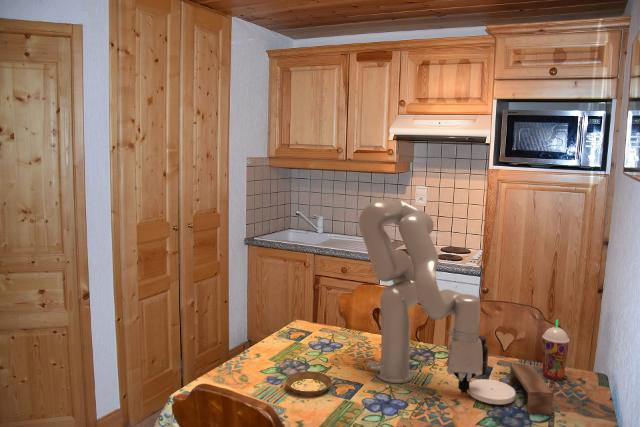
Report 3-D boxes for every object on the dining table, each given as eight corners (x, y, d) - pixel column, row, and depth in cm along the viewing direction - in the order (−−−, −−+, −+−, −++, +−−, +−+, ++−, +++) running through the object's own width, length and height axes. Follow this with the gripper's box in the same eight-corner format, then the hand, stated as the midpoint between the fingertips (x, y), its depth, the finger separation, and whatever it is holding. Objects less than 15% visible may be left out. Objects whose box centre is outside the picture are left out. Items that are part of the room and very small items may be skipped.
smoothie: (555, 383, 173) (559, 325, 171) (534, 374, 180) (538, 317, 178) (571, 379, 177) (576, 321, 174) (551, 369, 184) (554, 314, 182)
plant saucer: (309, 374, 178) (309, 367, 178) (341, 389, 168) (341, 381, 167) (276, 388, 168) (276, 380, 168) (307, 404, 157) (307, 396, 157)
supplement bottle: (488, 376, 178) (490, 342, 177) (467, 374, 180) (469, 340, 178) (486, 367, 185) (487, 335, 184) (466, 366, 186) (467, 333, 185)
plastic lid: (465, 385, 172) (465, 377, 171) (510, 388, 170) (510, 381, 169) (471, 405, 158) (471, 397, 158) (519, 409, 156) (520, 401, 155)
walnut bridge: (528, 413, 153) (530, 391, 152) (509, 383, 173) (510, 363, 172) (551, 414, 153) (553, 392, 152) (529, 384, 172) (530, 364, 172)
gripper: (443, 338, 159) (441, 396, 161) (493, 340, 158) (490, 398, 160) (439, 330, 166) (437, 385, 168) (487, 331, 165) (485, 387, 167)
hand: (463, 391), depth 164 cm, fingers closed
